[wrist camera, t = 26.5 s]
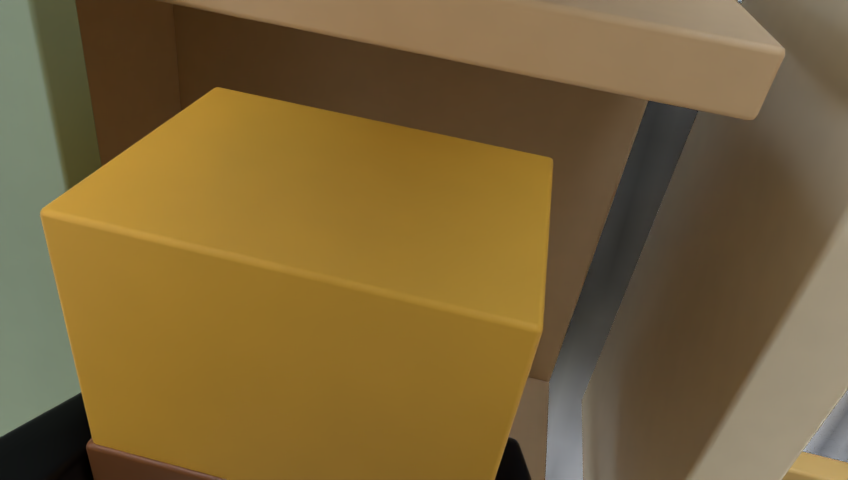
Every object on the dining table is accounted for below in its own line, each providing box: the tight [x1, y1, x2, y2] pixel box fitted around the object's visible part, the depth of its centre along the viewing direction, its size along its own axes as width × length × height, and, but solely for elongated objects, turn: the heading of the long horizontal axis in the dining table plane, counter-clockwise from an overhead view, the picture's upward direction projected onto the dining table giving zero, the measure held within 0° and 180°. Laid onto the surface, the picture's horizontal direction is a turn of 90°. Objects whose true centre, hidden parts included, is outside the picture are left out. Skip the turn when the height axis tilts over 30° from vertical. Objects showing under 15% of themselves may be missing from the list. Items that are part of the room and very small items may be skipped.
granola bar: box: [40, 87, 553, 480], centre depth 8 cm, size 4×8×3 cm, turn 172°
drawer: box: [75, 0, 848, 480], centre depth 12 cm, size 18×12×7 cm, turn 82°
